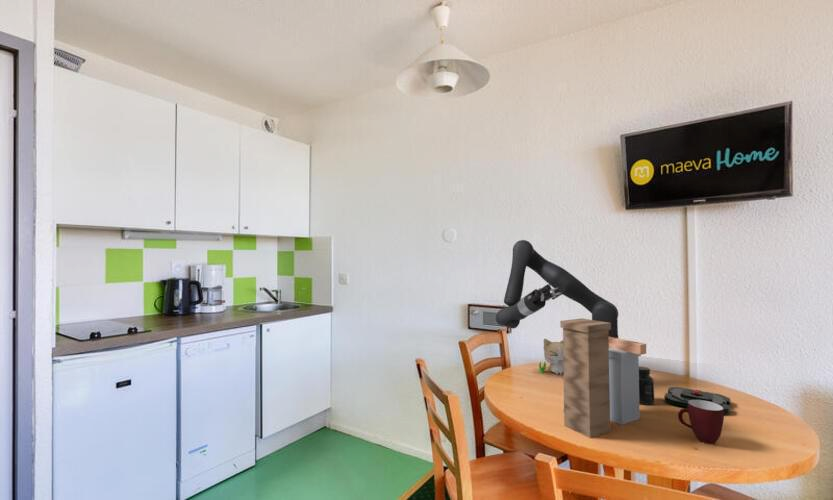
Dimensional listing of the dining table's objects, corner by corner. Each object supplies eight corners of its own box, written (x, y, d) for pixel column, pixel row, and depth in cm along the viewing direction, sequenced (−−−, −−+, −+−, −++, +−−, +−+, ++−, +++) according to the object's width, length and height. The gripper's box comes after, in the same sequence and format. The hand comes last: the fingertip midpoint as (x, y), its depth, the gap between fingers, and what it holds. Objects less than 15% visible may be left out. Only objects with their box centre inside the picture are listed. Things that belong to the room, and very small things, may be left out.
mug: (675, 438, 107) (675, 403, 107) (680, 429, 113) (679, 395, 113) (723, 451, 100) (722, 413, 100) (725, 440, 106) (724, 404, 106)
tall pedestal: (561, 425, 116) (560, 320, 117) (583, 418, 121) (582, 318, 121) (590, 438, 107) (588, 325, 108) (612, 431, 112) (610, 322, 112)
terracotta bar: (578, 341, 134) (578, 332, 134) (584, 340, 135) (584, 331, 135) (640, 354, 114) (640, 344, 114) (646, 353, 116) (646, 343, 116)
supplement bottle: (652, 400, 136) (652, 366, 136) (655, 406, 130) (655, 371, 130) (631, 397, 139) (630, 364, 139) (632, 403, 133) (632, 369, 133)
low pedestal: (593, 413, 124) (592, 346, 125) (613, 408, 129) (611, 343, 129) (622, 425, 115) (621, 353, 116) (642, 419, 120) (640, 349, 121)
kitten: (543, 375, 165) (542, 341, 165) (535, 369, 175) (535, 336, 175) (576, 375, 165) (576, 341, 166) (567, 369, 175) (567, 336, 176)
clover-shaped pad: (663, 405, 132) (662, 392, 132) (670, 391, 146) (669, 379, 146) (729, 419, 120) (729, 405, 120) (730, 403, 134) (730, 390, 134)
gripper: (514, 296, 153) (540, 277, 141) (540, 294, 160) (566, 276, 148) (521, 313, 150) (548, 295, 138) (547, 310, 157) (575, 294, 144)
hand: (557, 286), depth 143 cm, fingers open, 8 cm apart
